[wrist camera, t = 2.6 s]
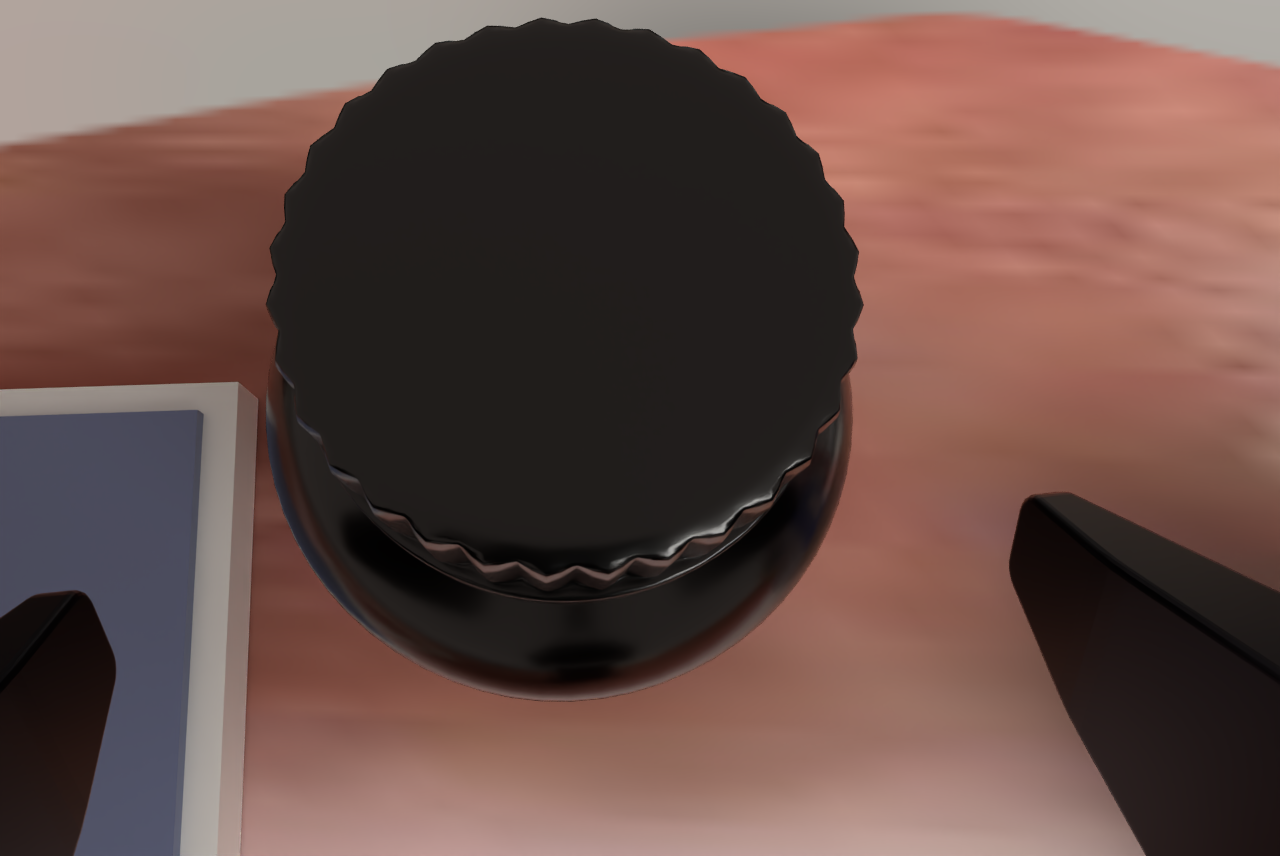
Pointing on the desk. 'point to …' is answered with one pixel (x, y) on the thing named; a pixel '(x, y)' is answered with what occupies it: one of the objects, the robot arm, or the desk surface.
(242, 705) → the ink pad
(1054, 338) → the desk surface
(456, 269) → the supplement bottle
